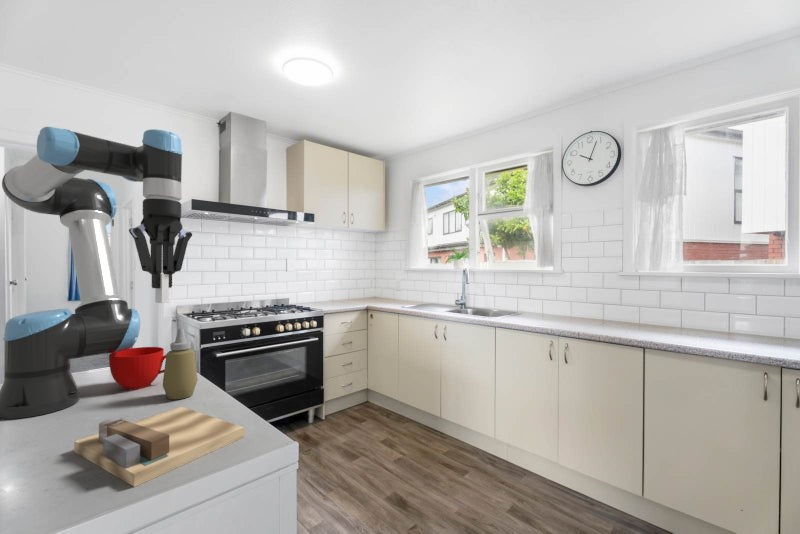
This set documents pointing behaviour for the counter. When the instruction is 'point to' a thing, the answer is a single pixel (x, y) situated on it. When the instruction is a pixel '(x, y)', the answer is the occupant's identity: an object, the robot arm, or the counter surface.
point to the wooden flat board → (186, 443)
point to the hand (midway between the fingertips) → (161, 302)
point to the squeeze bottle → (180, 369)
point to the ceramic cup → (136, 366)
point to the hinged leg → (136, 436)
